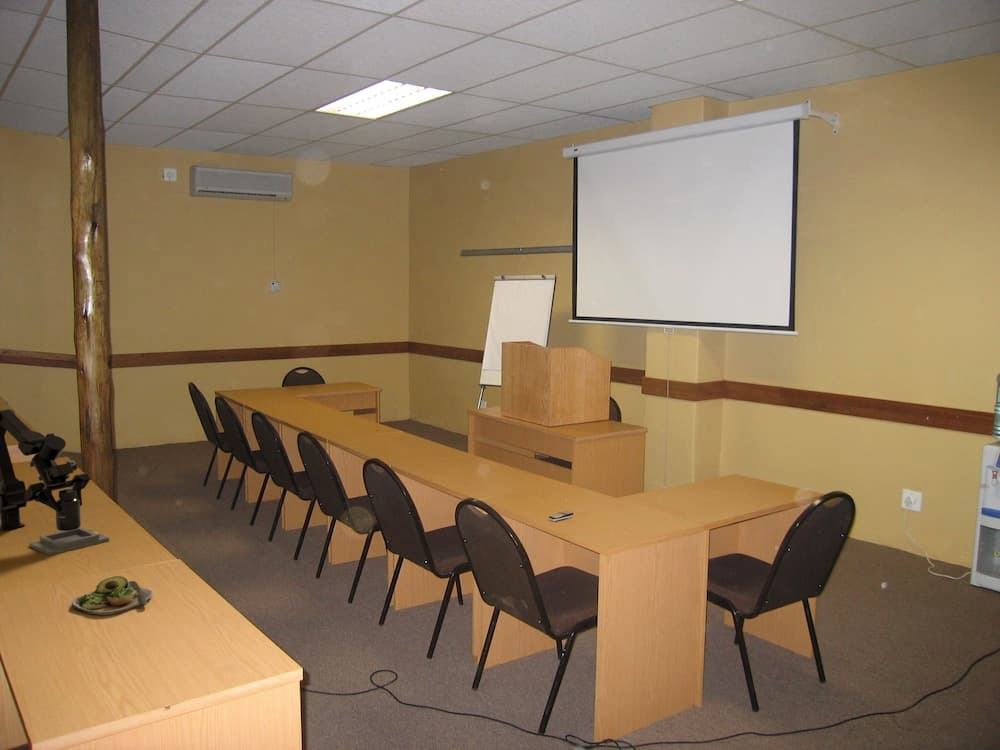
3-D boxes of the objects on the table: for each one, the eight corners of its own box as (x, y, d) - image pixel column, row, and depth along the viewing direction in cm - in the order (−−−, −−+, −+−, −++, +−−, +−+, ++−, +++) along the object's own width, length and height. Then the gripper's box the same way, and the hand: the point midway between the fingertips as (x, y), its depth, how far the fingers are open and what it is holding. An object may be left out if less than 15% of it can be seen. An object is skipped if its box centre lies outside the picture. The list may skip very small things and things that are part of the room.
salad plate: (173, 599, 202) (172, 582, 202) (109, 624, 187) (109, 606, 186) (126, 585, 212) (126, 568, 211) (62, 608, 196) (61, 590, 196)
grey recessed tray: (29, 546, 242) (29, 538, 242) (89, 532, 256) (88, 524, 256) (48, 555, 233) (48, 547, 233) (109, 540, 247) (109, 533, 247)
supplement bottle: (55, 532, 240) (53, 494, 238) (57, 526, 246) (55, 489, 244) (80, 529, 243) (78, 492, 241) (82, 523, 249) (80, 487, 247)
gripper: (27, 459, 235) (50, 500, 231) (86, 448, 251) (108, 486, 247) (14, 480, 240) (36, 521, 236) (72, 469, 256) (94, 506, 252)
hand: (70, 508), depth 243 cm, fingers closed on supplement bottle, 7 cm apart
